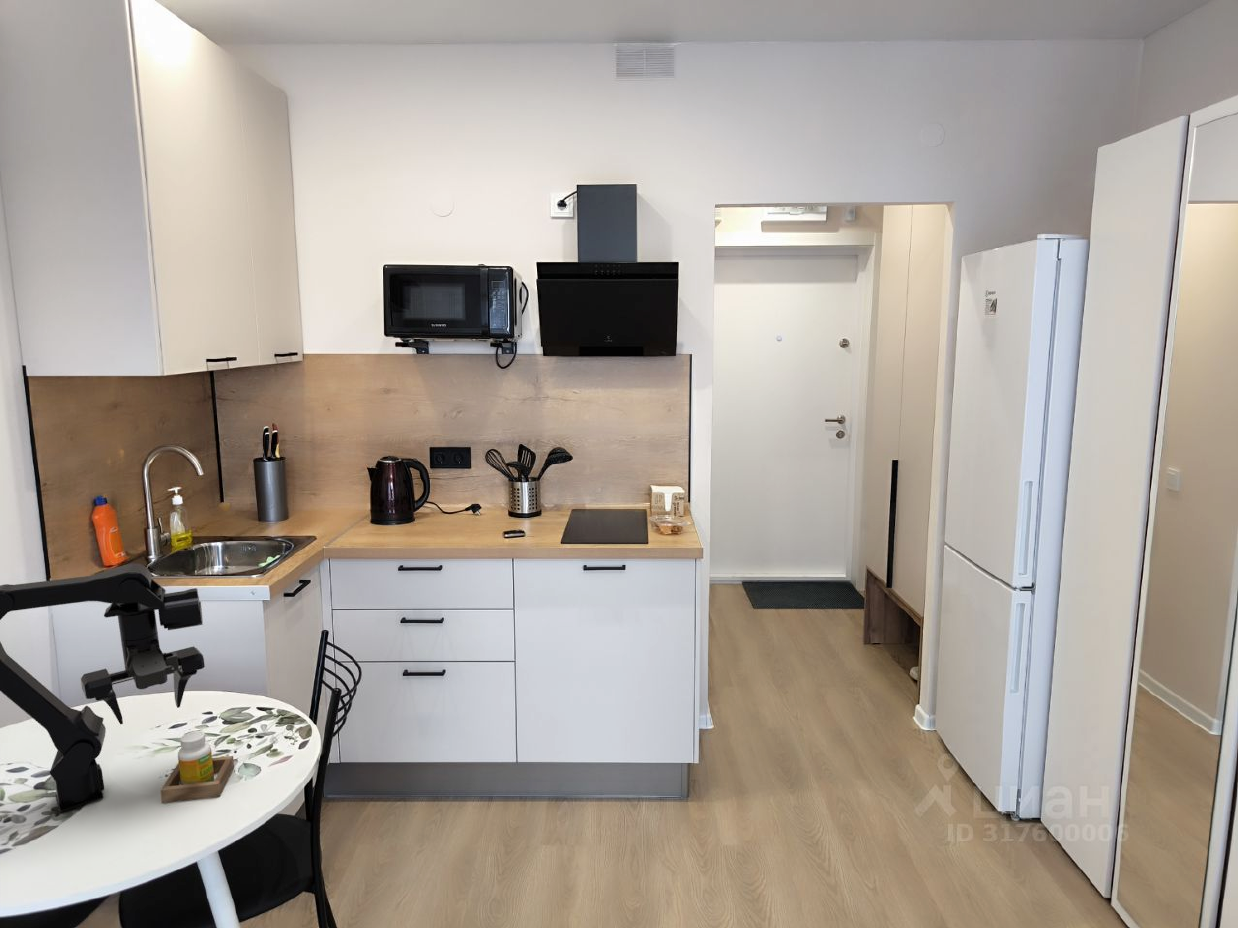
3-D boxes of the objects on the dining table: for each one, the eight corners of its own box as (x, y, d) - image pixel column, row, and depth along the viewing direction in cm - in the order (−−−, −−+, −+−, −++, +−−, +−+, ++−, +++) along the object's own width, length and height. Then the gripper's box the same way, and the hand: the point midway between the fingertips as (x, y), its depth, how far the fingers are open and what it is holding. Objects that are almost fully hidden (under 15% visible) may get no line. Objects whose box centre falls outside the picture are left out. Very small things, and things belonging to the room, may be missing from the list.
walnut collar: (162, 802, 142) (160, 790, 142) (180, 773, 151) (179, 761, 151) (219, 796, 144) (218, 783, 143) (234, 767, 153) (233, 755, 153)
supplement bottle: (204, 793, 145) (199, 744, 143) (175, 793, 145) (169, 743, 143) (220, 776, 150) (214, 728, 148) (191, 776, 150) (186, 728, 149)
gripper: (84, 663, 132) (97, 750, 135) (207, 633, 144) (217, 713, 147) (75, 643, 141) (87, 726, 144) (192, 616, 153) (201, 693, 155)
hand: (150, 714), depth 147 cm, fingers open, 9 cm apart
